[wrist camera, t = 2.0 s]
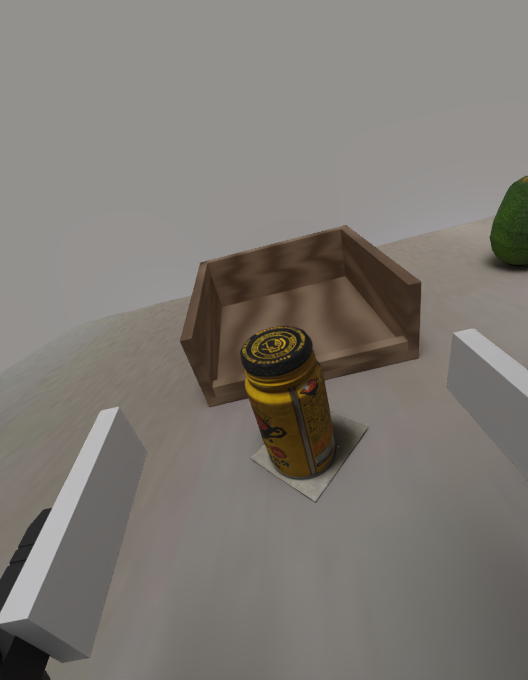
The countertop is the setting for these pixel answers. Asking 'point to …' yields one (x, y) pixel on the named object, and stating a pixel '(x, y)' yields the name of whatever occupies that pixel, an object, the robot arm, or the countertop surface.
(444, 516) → the countertop surface
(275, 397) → the condiment
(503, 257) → the avocado
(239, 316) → the tray
